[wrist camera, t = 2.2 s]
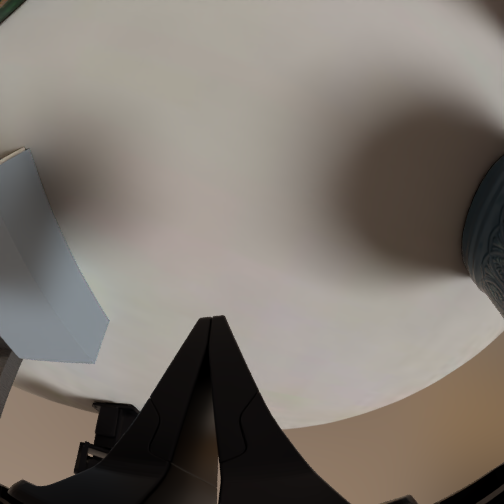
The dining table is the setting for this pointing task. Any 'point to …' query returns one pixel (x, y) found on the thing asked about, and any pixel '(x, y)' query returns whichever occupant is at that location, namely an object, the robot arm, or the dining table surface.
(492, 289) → the canister
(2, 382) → the bookend
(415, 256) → the dining table surface
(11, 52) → the dining table surface
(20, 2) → the coffee jar
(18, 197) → the boxed book
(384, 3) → the dining table surface
